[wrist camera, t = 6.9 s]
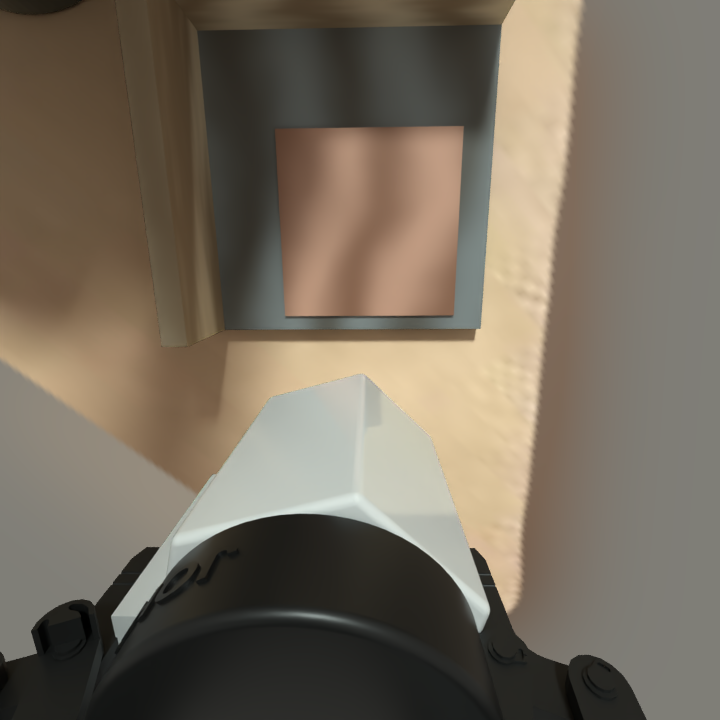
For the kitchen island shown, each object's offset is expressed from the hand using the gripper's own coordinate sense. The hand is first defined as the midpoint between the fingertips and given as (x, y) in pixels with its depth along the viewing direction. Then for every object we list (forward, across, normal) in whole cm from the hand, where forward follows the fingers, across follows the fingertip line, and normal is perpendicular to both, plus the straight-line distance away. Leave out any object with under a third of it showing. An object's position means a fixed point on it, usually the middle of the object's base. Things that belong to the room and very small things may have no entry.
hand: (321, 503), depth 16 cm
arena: (+15, 0, +15) cm, 21 cm away
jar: (+3, +1, +1) cm, 3 cm away
